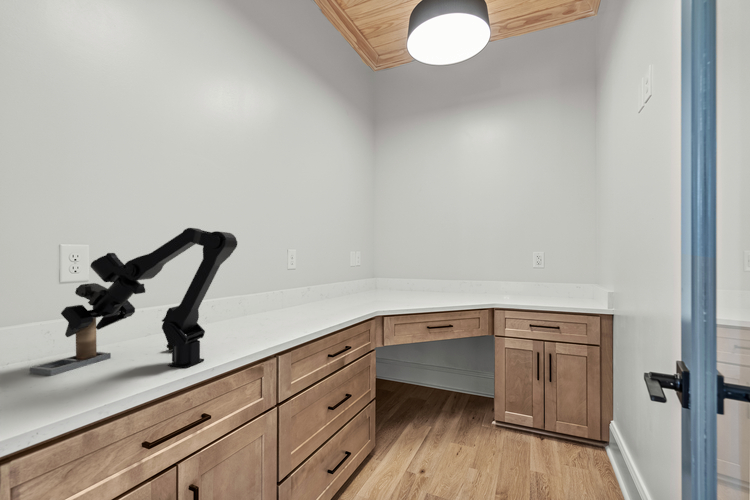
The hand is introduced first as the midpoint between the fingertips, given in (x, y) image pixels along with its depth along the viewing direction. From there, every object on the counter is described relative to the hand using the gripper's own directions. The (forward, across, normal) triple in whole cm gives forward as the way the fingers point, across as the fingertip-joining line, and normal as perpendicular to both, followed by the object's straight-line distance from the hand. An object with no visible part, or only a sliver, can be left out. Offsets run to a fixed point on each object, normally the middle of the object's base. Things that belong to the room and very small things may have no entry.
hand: (82, 332), depth 98 cm
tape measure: (-8, -13, +21) cm, 26 cm away
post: (+5, 0, +7) cm, 8 cm away
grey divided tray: (+6, +4, +6) cm, 9 cm away
